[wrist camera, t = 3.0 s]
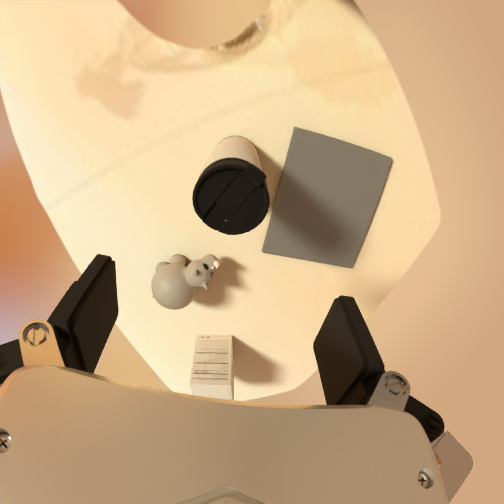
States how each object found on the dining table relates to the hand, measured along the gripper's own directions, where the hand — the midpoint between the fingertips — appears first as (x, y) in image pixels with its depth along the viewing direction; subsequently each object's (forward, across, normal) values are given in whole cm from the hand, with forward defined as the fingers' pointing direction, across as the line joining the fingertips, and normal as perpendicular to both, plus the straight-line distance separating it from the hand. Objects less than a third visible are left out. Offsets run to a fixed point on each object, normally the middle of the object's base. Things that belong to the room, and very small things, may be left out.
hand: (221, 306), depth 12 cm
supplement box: (+32, -3, +38) cm, 50 cm away
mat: (+32, -15, +4) cm, 36 cm away
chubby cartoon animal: (+32, +4, +19) cm, 38 cm away
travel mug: (+32, 0, 0) cm, 32 cm away
